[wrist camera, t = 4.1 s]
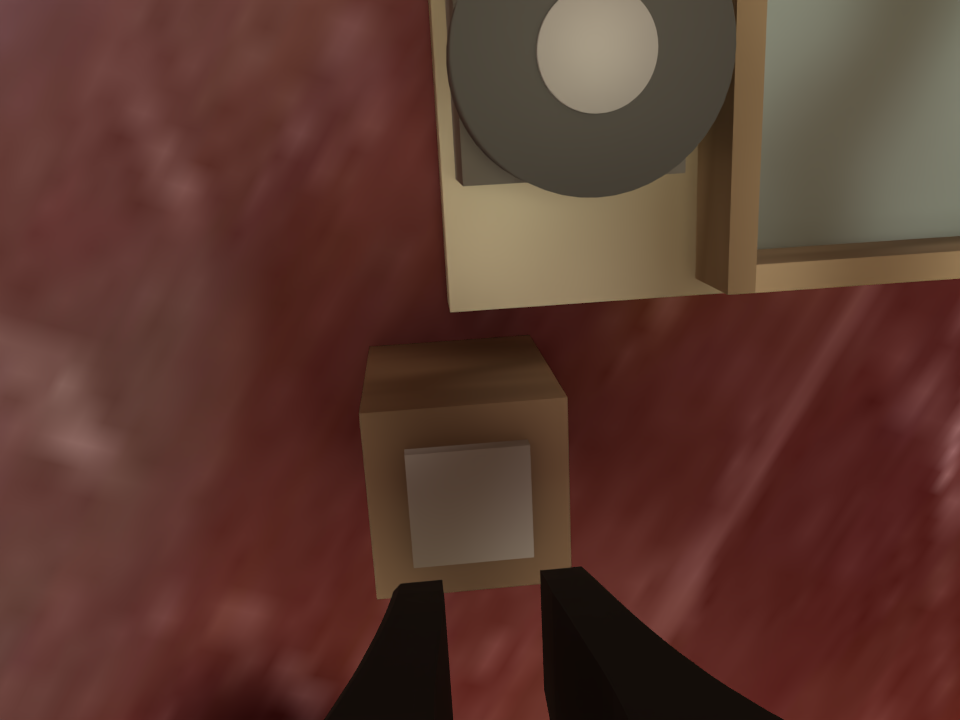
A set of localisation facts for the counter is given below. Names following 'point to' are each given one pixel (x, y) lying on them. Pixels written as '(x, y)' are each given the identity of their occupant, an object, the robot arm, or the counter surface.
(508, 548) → the wooden block
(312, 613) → the counter surface
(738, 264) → the chassis board
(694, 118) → the wheel
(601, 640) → the robot arm
